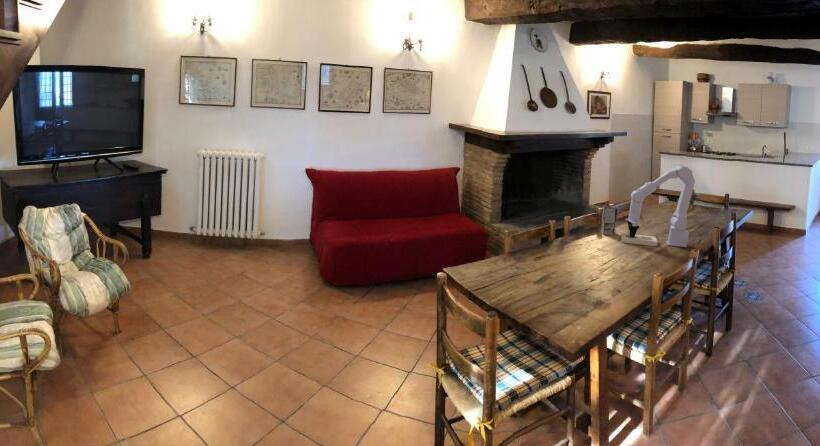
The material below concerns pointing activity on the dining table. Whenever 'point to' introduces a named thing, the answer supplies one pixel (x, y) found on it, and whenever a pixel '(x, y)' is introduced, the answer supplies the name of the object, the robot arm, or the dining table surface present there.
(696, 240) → the dining table surface
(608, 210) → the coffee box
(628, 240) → the socket block
